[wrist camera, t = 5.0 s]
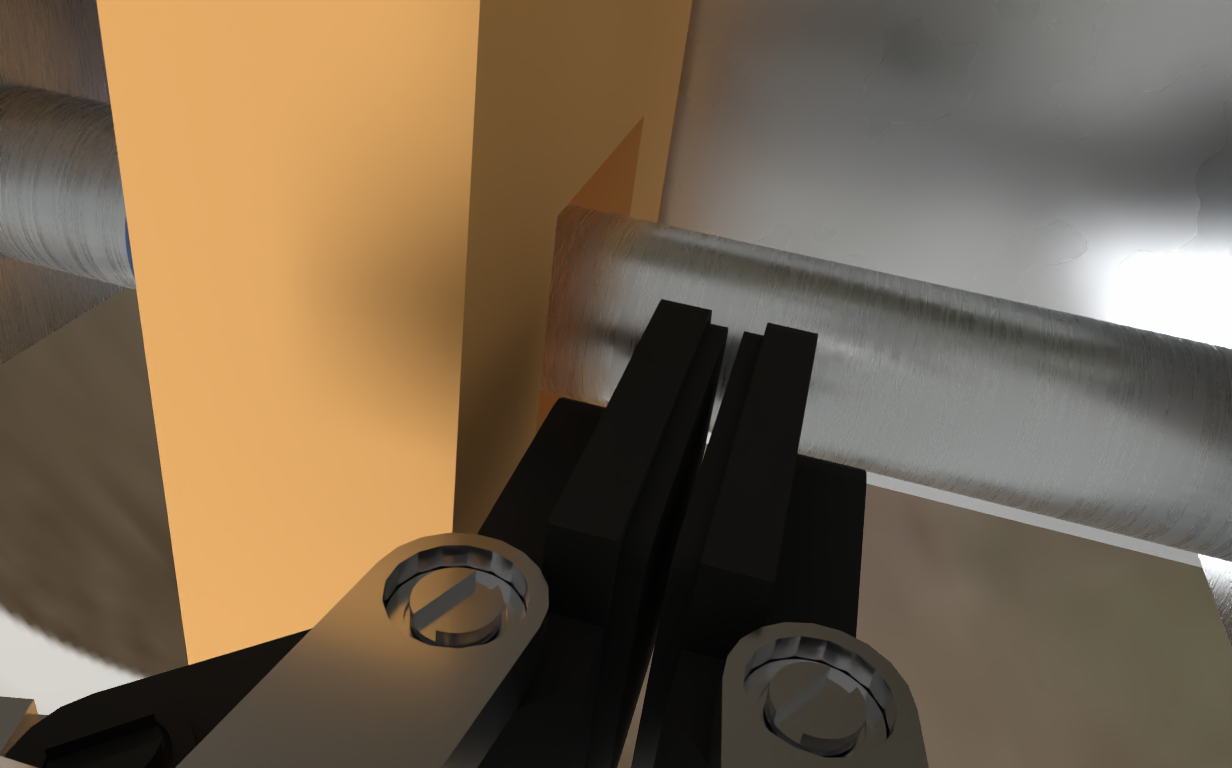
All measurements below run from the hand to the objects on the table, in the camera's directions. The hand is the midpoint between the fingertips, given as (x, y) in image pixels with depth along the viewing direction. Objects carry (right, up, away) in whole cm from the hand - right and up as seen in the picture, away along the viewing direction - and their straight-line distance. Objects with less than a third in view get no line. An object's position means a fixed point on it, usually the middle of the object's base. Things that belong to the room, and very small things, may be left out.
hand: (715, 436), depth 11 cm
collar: (-2, +4, +6) cm, 7 cm away
